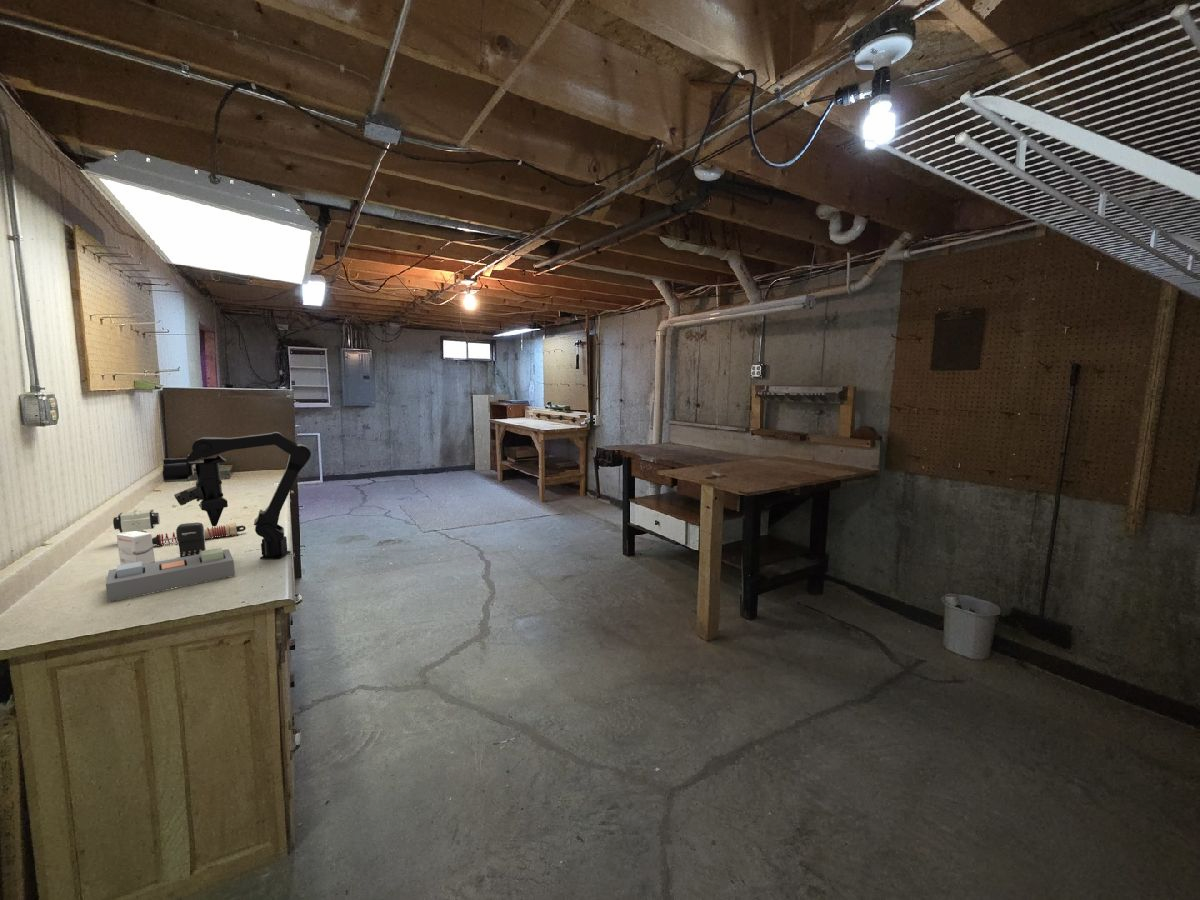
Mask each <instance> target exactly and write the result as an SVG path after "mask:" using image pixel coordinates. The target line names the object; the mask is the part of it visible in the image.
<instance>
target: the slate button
mask: <svg viewBox="0 0 1200 900" xmlns="http://www.w3.org/2000/svg"><path fill="white" fill-rule="evenodd" d="M116 569H117V570H116V572H117V578H121V577H127V576H132V575H137V574H143V566H142V561H141V562H135V563H129V564H124V565H120V564H119V565H116Z"/></svg>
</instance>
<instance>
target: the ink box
mask: <svg viewBox="0 0 1200 900" xmlns="http://www.w3.org/2000/svg"><path fill="white" fill-rule="evenodd" d="M152 538H153V536H152V533H150V532H147V533H145V532H139V531H130V532H122V533H118V534H116V539H117V540H116V541H117V548H118V555H119V556H118V557H119V565H124V564H129V563H135V562H141V561H142V564H147V563H152V562H156V559H155V552H154V551H155V550H154V545H153V543H152Z"/></svg>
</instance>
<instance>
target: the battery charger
mask: <svg viewBox="0 0 1200 900" xmlns="http://www.w3.org/2000/svg"><path fill="white" fill-rule="evenodd" d="M204 529H205V526H204V524H203V523H202V522H200V521H195V522H193V521H192V522H185V523H180V524H179V525H178V526H177V528H176V529H175V531H176V532H175V533H176V534H175V537H177V539H176V540H177V542H178V547H179V558H181V557H186V556H192V555H198V554H201V551H204V550H207V549H206V540H205V532H204Z"/></svg>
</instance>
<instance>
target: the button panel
mask: <svg viewBox="0 0 1200 900" xmlns="http://www.w3.org/2000/svg"><path fill="white" fill-rule="evenodd" d="M222 550H223V556H224V558H223V559H218V560H213V561H207V562H202V560H201V554H198V555H192V556H186V557H181V558H180V557H176V558H171V559H165V560H159V561H155V562H152V563H147V564H142V566H143V574H137V575H132V576H127V577H121V578H117V572H116V570H117V568H115V569H114V568H113V569H109V570H108V573H107V575H106V576H107V577H106V580H105V589H106V596H107V602H108V603H110V602H109V601H112V602H115V601H114V600H116V601H120V600H119V599H121V600H125V599H124V598H126V599H130V598H129V597H131V598H135V597H134V596H136V597H139V596H138V595H140V596H144V595H143V594H145V595H149V594H148V593H150V594H153V593H152V592H155V593H158V592H157V591H160V592H163V591H162V590H164V591H167V590H166V589H169V590H172V589H171V588H174V589H176V588H175V587H179V588H181V587H180V586H184V587H186V586H185V585H189V586H192V585H191V584H193V585H196V584H195V583H198V584H201V582H203V583H206V582H205V581H208V582H211V581H210V580H213V581H216V580H215V579H217V580H221V579H220V578H222V579H225V578H224V577H227V578H230V577H229V576H232V577H235V576H236V573H235V572H236V570H235V562H234V561H235V560H234V558H233V556H232V553H231V552H230V550H229V548H227V549H222ZM182 560H184V563H185V566H180V567H175V568H170V569H164V570H162V565H161V564H165V563H171V562H176V561H182ZM234 575H235V576H234Z"/></svg>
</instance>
